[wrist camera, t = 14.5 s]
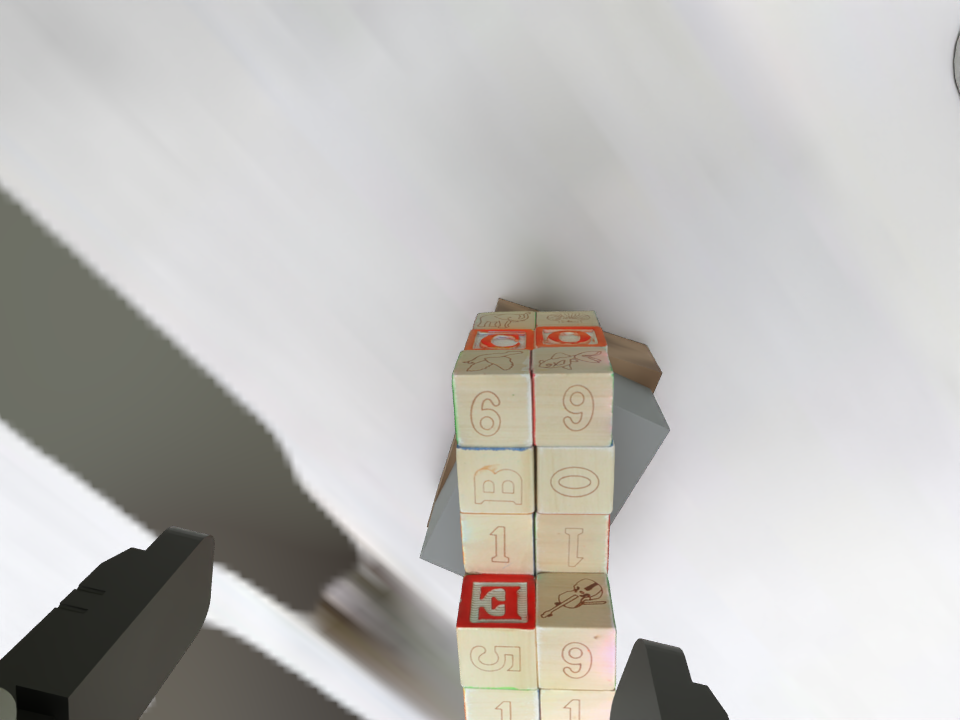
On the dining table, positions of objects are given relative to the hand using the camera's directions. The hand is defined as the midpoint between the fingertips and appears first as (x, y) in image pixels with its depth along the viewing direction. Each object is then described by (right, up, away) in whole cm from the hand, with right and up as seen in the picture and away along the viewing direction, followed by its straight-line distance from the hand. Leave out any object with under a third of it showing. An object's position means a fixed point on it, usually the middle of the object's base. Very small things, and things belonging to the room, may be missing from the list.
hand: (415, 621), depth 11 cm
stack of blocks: (+4, -3, +24) cm, 24 cm away
